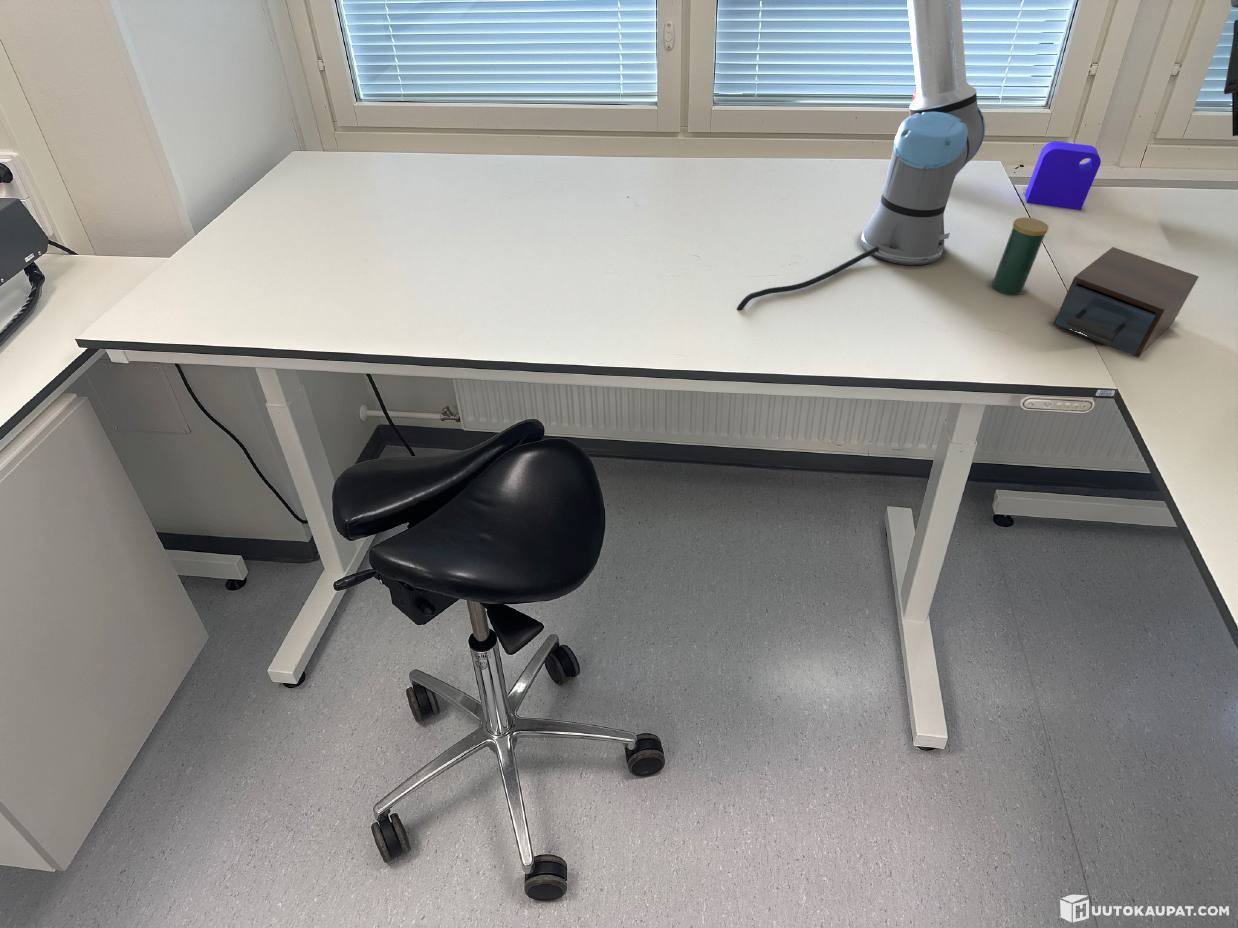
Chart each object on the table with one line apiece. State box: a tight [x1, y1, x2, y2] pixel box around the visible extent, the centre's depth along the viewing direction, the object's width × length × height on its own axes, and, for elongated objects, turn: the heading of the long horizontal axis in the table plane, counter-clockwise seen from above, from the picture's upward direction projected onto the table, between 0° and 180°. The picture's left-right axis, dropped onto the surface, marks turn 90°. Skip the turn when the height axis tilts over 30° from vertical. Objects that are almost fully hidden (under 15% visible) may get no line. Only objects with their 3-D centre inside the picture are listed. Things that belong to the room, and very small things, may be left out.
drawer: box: [1054, 285, 1156, 356], centre depth 130 cm, size 20×13×7 cm, turn 134°
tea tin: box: [991, 217, 1049, 296], centre depth 140 cm, size 6×6×12 cm
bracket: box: [1024, 140, 1102, 211], centre depth 173 cm, size 18×11×12 cm, turn 163°
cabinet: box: [1053, 246, 1200, 359], centre depth 132 cm, size 16×14×9 cm
